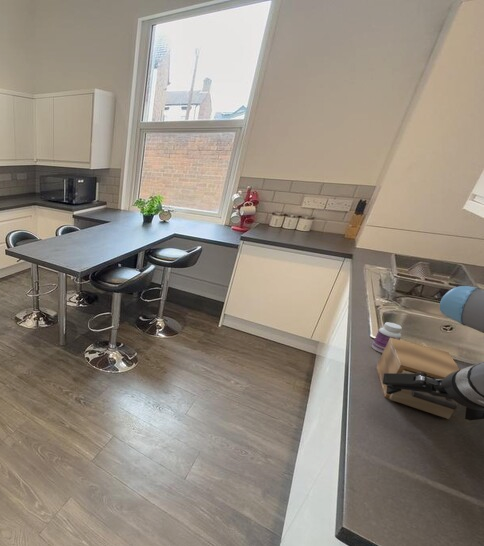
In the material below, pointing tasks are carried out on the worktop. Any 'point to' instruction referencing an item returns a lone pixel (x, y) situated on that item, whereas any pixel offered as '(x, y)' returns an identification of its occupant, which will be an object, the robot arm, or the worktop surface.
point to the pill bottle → (386, 336)
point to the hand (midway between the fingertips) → (426, 400)
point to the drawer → (425, 400)
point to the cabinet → (414, 361)
